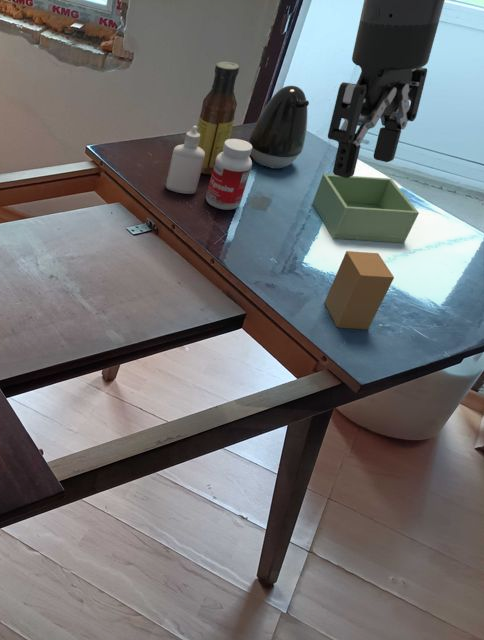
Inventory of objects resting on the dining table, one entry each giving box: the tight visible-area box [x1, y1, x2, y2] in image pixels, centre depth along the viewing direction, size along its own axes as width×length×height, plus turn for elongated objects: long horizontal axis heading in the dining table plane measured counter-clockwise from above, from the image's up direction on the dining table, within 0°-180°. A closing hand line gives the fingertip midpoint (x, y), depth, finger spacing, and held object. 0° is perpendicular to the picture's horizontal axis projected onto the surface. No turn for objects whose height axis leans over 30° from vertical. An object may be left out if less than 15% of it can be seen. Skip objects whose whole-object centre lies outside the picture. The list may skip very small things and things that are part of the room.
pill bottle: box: [205, 138, 253, 211], centre depth 120 cm, size 6×6×11 cm
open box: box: [312, 173, 420, 244], centre depth 119 cm, size 12×12×6 cm
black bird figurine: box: [248, 85, 310, 169], centre depth 132 cm, size 10×10×15 cm
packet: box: [324, 250, 395, 330], centre depth 96 cm, size 4×6×9 cm
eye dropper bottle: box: [165, 125, 205, 195], centre depth 123 cm, size 4×6×12 cm
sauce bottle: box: [197, 61, 240, 174], centre depth 127 cm, size 7×6×20 cm
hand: (363, 167), depth 81 cm, fingers open, 8 cm apart
